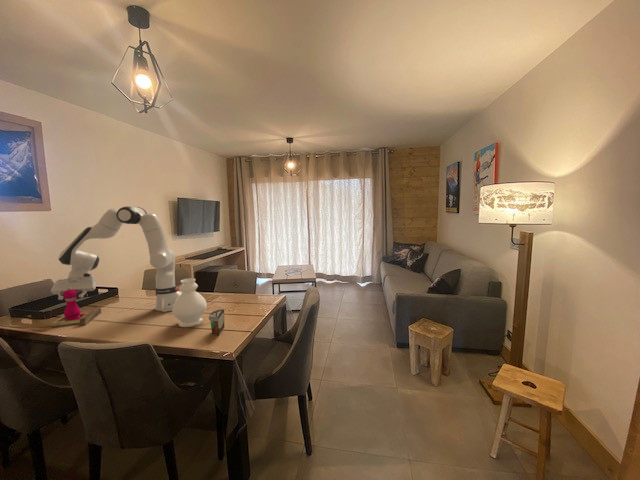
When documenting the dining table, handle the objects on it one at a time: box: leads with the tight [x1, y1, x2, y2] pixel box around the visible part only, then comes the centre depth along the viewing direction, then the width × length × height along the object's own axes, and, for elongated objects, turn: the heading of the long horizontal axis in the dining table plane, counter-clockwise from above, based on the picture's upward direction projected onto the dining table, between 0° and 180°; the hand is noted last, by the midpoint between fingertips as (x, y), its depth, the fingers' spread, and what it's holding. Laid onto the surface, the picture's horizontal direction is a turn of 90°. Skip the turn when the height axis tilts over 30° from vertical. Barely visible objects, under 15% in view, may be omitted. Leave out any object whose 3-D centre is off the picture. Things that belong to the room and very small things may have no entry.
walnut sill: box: [79, 306, 102, 327], centre depth 157 cm, size 2×20×4 cm, turn 20°
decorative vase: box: [171, 277, 208, 328], centre depth 148 cm, size 18×18×25 cm
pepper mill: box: [62, 287, 82, 321], centre depth 153 cm, size 7×7×20 cm
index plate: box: [51, 311, 90, 328], centre depth 154 cm, size 13×13×2 cm
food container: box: [208, 308, 225, 336], centre depth 137 cm, size 12×6×10 cm, turn 5°
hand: (70, 298), depth 153 cm, fingers open, 8 cm apart
